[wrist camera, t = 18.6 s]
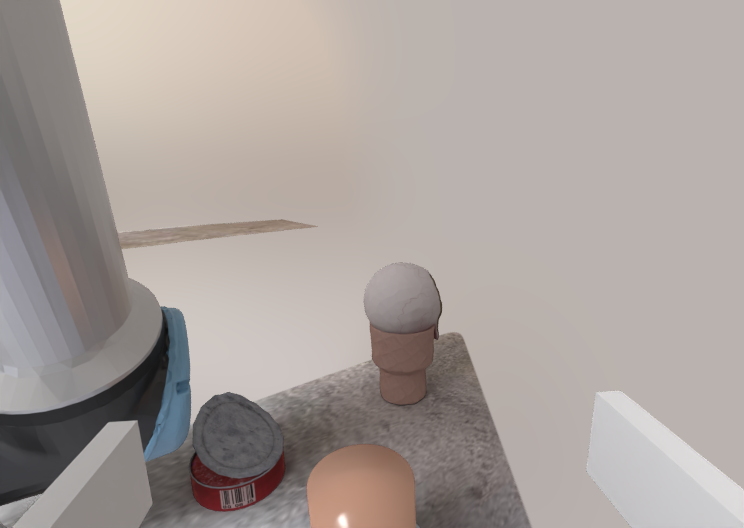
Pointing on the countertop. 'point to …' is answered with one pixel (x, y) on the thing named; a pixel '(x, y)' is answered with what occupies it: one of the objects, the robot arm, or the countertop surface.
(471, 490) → the countertop surface
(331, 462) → the peach round cylinder
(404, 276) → the ice cream cone
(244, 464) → the canned food
